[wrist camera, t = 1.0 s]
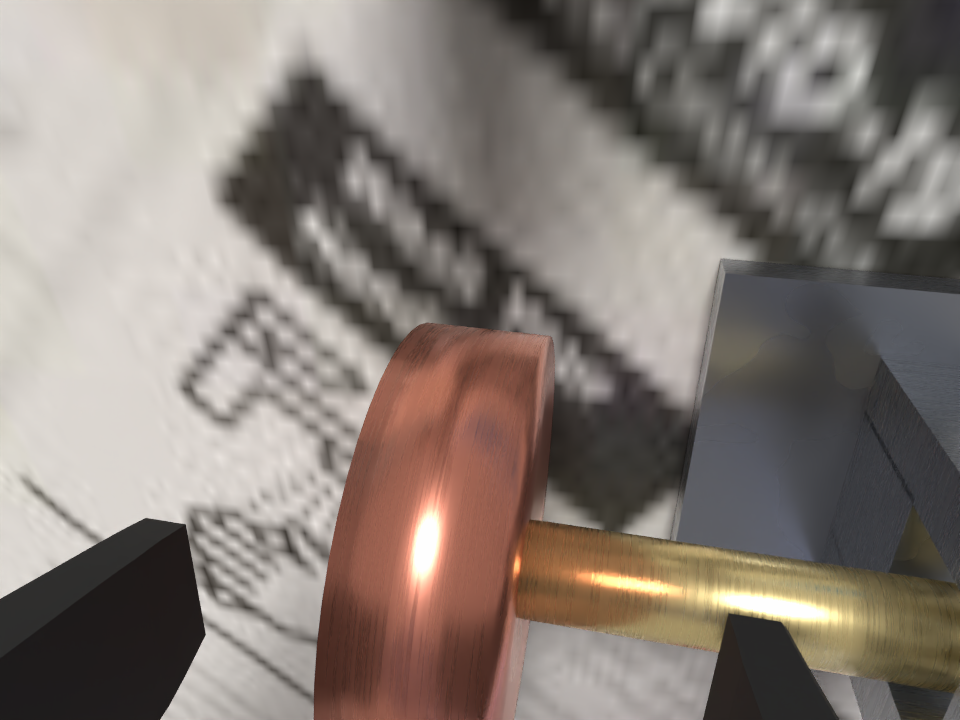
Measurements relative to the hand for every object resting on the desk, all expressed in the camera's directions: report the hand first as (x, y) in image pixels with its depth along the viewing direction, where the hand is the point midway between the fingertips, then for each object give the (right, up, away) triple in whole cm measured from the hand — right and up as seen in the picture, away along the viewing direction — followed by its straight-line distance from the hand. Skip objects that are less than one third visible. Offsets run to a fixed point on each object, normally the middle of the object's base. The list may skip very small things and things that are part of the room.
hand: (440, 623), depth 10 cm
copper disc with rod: (+6, +1, +3) cm, 7 cm away
